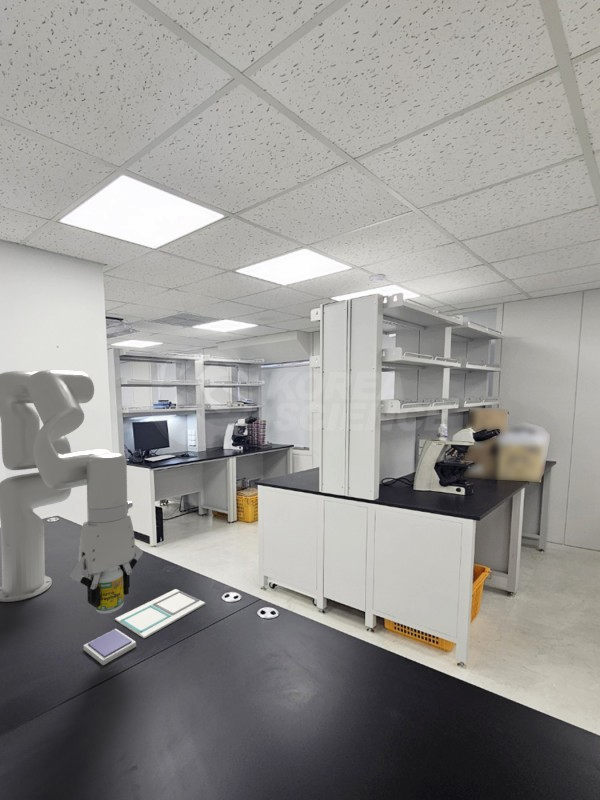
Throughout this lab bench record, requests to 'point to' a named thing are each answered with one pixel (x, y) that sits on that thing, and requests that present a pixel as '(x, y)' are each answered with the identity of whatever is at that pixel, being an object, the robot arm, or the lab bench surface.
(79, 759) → the lab bench surface
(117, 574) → the supplement bottle
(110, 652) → the ink pad
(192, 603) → the print sheet
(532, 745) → the lab bench surface
